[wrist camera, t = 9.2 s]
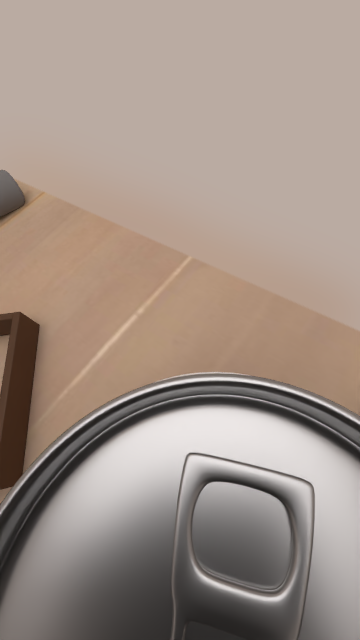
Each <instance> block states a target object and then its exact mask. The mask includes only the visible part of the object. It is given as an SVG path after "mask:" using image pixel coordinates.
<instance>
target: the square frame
mask: <svg viewBox="0 0 360 640" xmlns="http://www.w3.org/2000/svg"><path fill="white" fill-rule="evenodd" d="M38 333H39V324H37V323H36V322H34V321H33V320H31V319H30V318H28V317H27V316H25V315H24V314H22V313H21V312H14V313H8V314H0V335H7V334H10V338H9V344H8V350H7V356H6V362H5V369H4V375H3V381H2V387H1V394H0V489H4V488H8V487H12V486H14V485H15V483H16V482H17V481H18V480H19V478H20V477H21V476H22V471H23V463H24V454H25V445H26V437H27V428H28V419H29V411H30V402H31V393H32V385H33V376H34V367H35V359H36V350H37V341H38Z"/></svg>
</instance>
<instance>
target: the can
mask: <svg viewBox="0 0 360 640" xmlns="http://www.w3.org/2000/svg"><path fill="white" fill-rule="evenodd" d="M0 640H360V416H359V415H357V414H355V413H353V412H352V411H350V410H348V409H346V408H345V407H343V406H341V405H339V404H337V403H335V402H333V401H331V400H328V399H326V398H324V397H322V396H320V395H317V394H315V393H312V392H310V391H307V390H304V389H302V388H299V387H296V386H293V385H290V384H286V383H283V382H279V381H275V380H271V379H266V378H261V377H255V376H250V375H244V374H237V373H227V372H201V373H191V374H184V375H179V376H174V377H170V378H167V379H163V380H160V381H157V382H154V383H151V384H149V385H145V386H143V387H140V388H137V389H135V390H132V391H130V392H128V393H125V394H123V395H121V396H119V397H117V398H115V399H113V400H111V401H109V402H107V403H106V404H104V405H102V406H100V407H99V408H97V409H95V410H94V411H92V412H91V413H89V414H88V415H86V416H85V417H83V418H82V419H81V420H79V421H78V422H77V423H75V424H74V425H73V426H71V427H70V428H69V429H68V430H66V431H65V432H64V433H63V434H62V435H61V436H59V437H58V438H57V439H56V440H55V441H54V442H53V443H52V444H51V445H50V446H49V447H47V448H46V449H45V450H44V451H43V452H42V453H41V455H40V456H39V457H38V458H37V459H36V460H35V461H34V462H33V463H32V464H31V465H30V466H29V468H28V469H27V470H26V471H25V472H24V473H23V475H22V476H21V477H20V478H19V480H18V481H17V482H16V483H15V485H14V486H13V487H12V489H11V490H10V491H9V492H8V494H7V495H6V497H5V498H4V500H3V501H2V502H1V504H0Z"/></svg>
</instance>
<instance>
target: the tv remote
mask: <svg viewBox="0 0 360 640" xmlns="http://www.w3.org/2000/svg"><path fill="white" fill-rule="evenodd" d="M24 202H25V199H24V195H23V193H22V191H21V189H20V188H19V186H18V184H17V183H16V181H15V180H14V179H13V177H12V176H11V175H10V174H9V173H8V172H7V171H5V170H0V216H3V215H5V214H7V213H9V212H11V211H14V210H16V209H18V208H20V207H21V206H22V205H23V204H24Z"/></svg>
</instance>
